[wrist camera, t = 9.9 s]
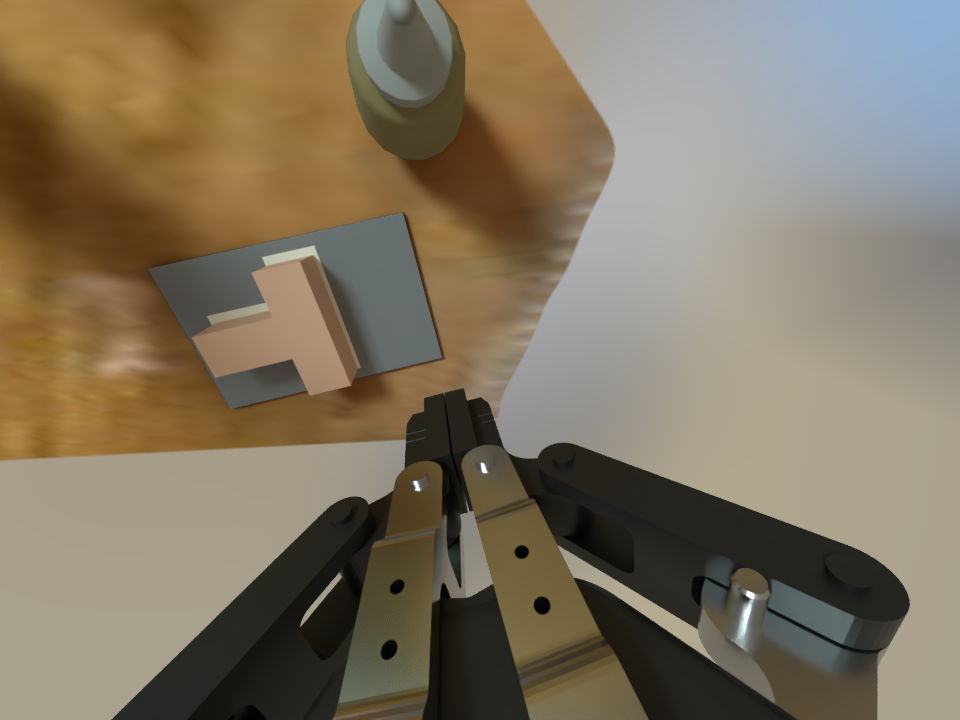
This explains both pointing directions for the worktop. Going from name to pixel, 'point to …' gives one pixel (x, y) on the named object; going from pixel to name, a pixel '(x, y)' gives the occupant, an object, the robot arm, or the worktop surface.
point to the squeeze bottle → (407, 75)
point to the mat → (351, 287)
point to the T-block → (285, 330)
